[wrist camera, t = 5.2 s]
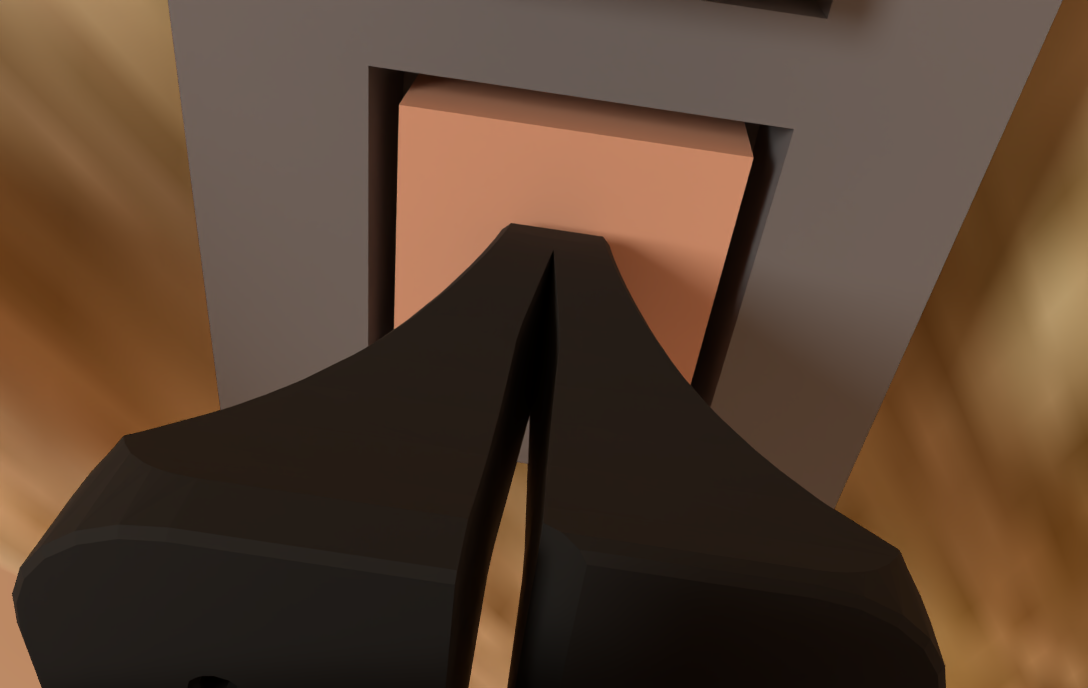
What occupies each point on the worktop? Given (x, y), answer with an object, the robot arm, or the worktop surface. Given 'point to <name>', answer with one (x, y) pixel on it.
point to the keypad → (629, 78)
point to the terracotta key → (569, 193)
